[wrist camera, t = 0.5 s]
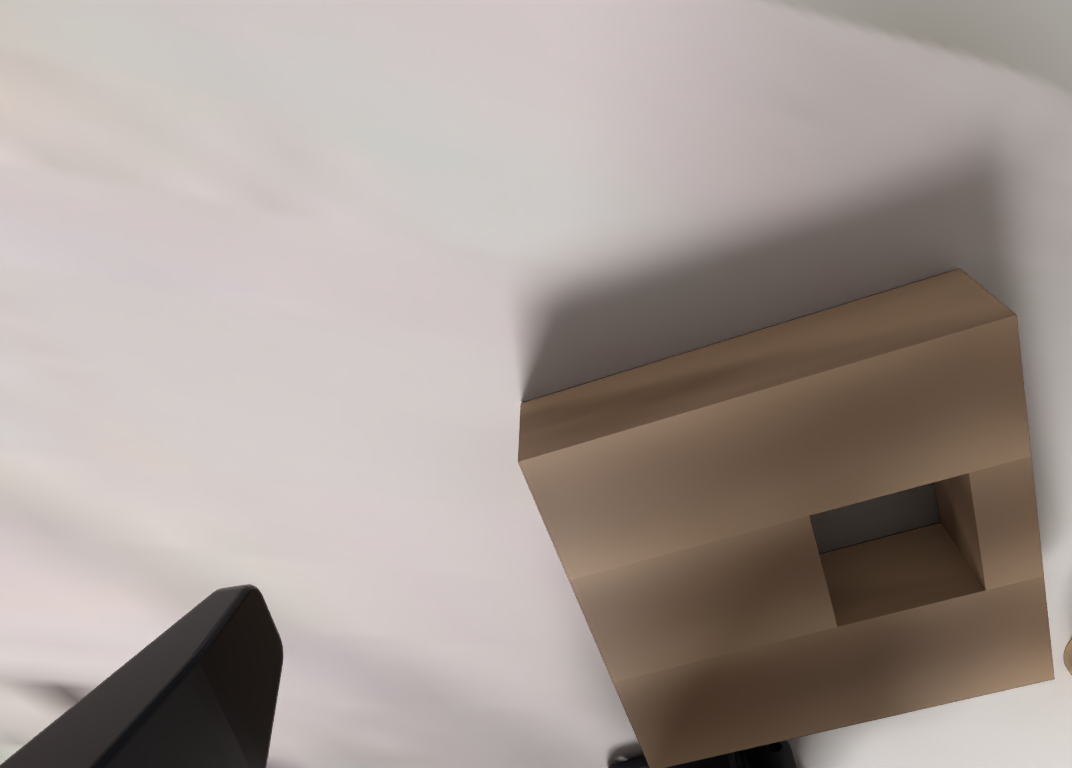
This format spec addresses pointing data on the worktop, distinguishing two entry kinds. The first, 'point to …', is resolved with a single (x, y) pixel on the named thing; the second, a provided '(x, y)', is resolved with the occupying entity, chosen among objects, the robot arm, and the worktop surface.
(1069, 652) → the oak peg
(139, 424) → the worktop surface
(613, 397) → the walnut block
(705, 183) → the worktop surface
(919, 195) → the worktop surface
